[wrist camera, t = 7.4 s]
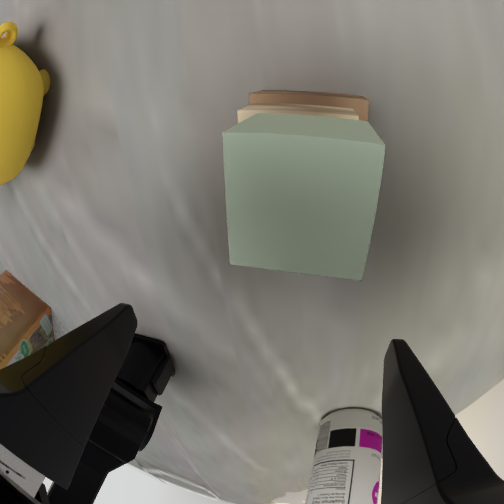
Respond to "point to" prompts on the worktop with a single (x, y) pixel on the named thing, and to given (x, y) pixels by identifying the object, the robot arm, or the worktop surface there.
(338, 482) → the supplement can
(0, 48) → the teapot
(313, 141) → the sage cube
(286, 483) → the worktop surface
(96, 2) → the worktop surface
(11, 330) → the milk carton
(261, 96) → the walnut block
